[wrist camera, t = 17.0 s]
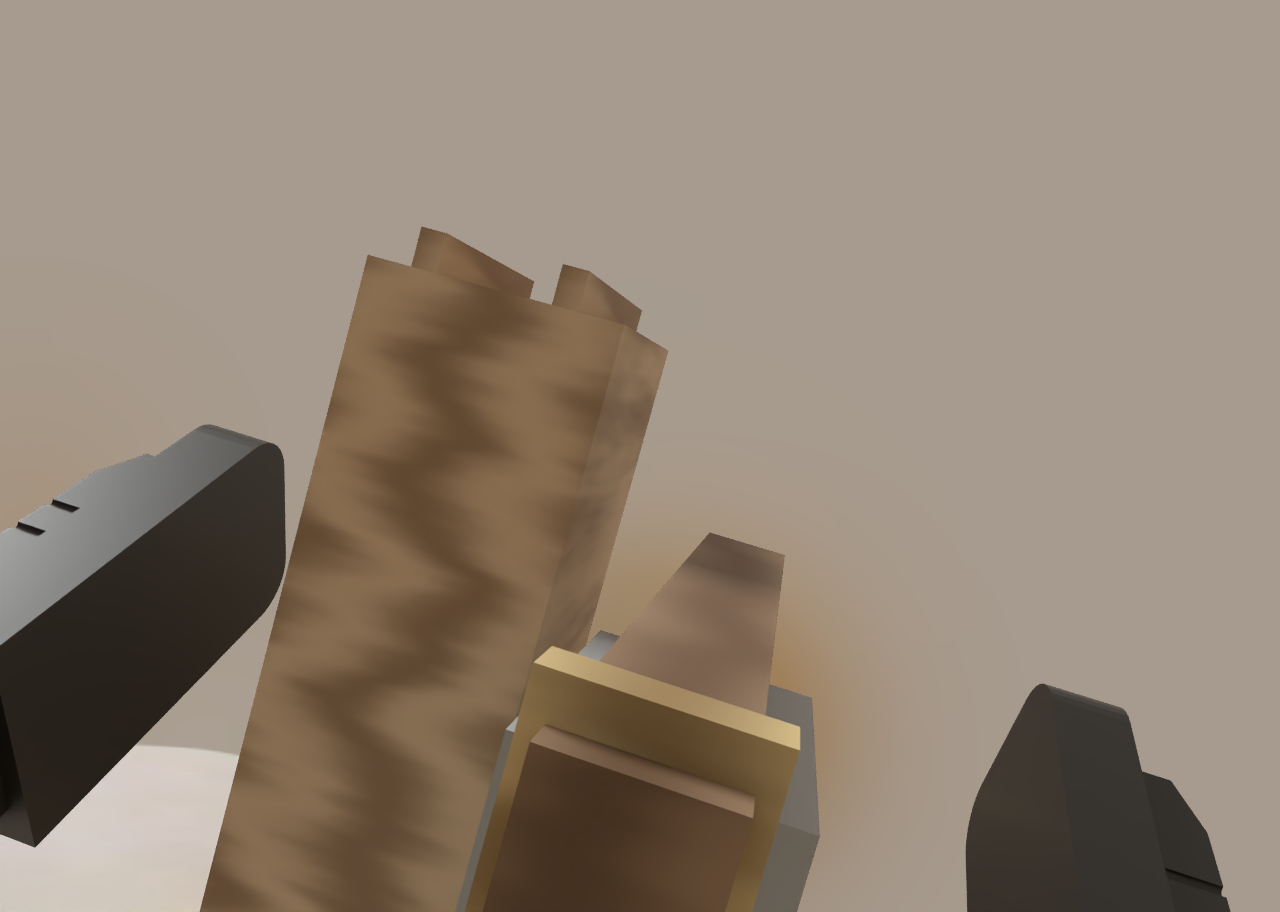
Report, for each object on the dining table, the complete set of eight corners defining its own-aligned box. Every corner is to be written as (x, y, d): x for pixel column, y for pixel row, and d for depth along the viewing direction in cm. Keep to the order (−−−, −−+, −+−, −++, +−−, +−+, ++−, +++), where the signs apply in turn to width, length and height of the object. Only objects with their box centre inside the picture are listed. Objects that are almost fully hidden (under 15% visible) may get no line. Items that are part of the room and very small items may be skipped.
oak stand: (164, 1049, 38) (377, 215, 36) (313, 903, 50) (481, 267, 48) (397, 1146, 37) (636, 283, 35) (494, 971, 49) (676, 320, 46)
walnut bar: (443, 945, 15) (517, 676, 15) (679, 603, 45) (705, 510, 44) (716, 1049, 15) (800, 770, 14) (772, 632, 44) (800, 538, 44)
